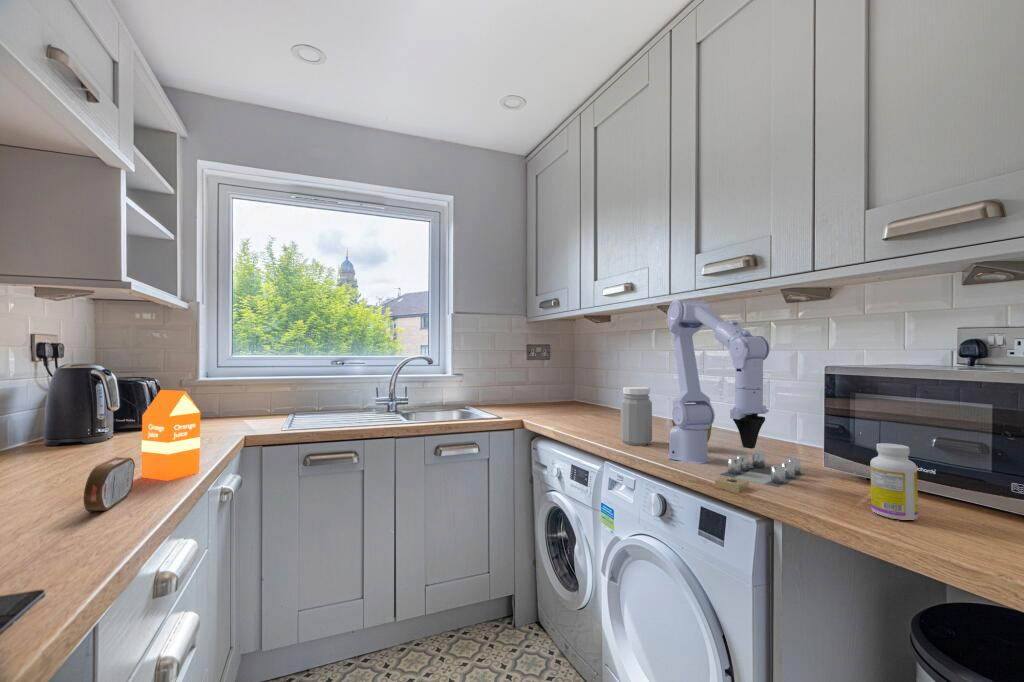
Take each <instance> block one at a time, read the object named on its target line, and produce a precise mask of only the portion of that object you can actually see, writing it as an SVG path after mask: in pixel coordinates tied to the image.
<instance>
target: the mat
mask: <svg viewBox="0 0 1024 682" xmlns="http://www.w3.org/2000/svg"><path fill="white" fill-rule="evenodd" d="M750 464H751V465H753V463H750ZM805 475H806V473H803V472H801V474H800V475H795V479H785V484H787V483H790V482H792V481H794V480H796V479H798V478H800V477H802V476H805ZM719 476H723V477H725V476H727V477H732V478H736V479H741V480H746V481H749V482H751V483H757V484H761V485H764V486H771V487H775V488H780V487H781V486H784V485H785V484H776V483H772V482H771V466H766V465H765V468H755V467H754V469H748V471H747V472H742V471H741V474H740V475H733V474H729V473H728V471H726V472H721V473H719Z"/></svg>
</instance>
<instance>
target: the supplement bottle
mask: <svg viewBox="0 0 1024 682" xmlns="http://www.w3.org/2000/svg"><path fill="white" fill-rule="evenodd" d="M910 451H911V450H910V447H909V445H908V446H907V445H904V444H897V443H888V442H886V443H883V442H881V443H879V442H878V443H876V452H877V456H875V457H873V458H871V460H870V465H869V466H870V504H871V505H870V506H871V511H872V513H874V512H875V513H877V514H880V515H883V516H887V517H893V518H898V519H915V518H917V517H919V495H918V494H919V493H918V491H919V490H918V466H917V465H916V463H915V462H913V461H912V460H910V459H909V456H910V454H911V452H910ZM875 513H874V514H875ZM877 514H876V515H877ZM917 519H918V518H917Z"/></svg>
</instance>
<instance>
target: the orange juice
mask: <svg viewBox="0 0 1024 682" xmlns="http://www.w3.org/2000/svg"><path fill="white" fill-rule="evenodd" d="M141 420H142V423H141V424H142V425H141V426H142V430H141V432H142V433H141V470H140V471H141V473H140V474H141V475H140V476H141V477H140V478H144V479H154V480H158V481H159V480H161V481H172V480H175V479H179V478H184V477H186V476H190V475H191V476H192V475H194V474H195V475H196V474H198V473H200V453H201V411H200V409H199V408H198V407H197V406H196V404H195V403H194V401H193V400H192V398H191V397H190V396H189V394H188V393H187V391H186V390H168V389H167V390H165V389H160V390H159V391H158V393H157V394H156V396H155V397H154V399H153V400H152V402H151V403H150V405H149V406H148V407H147V409H145V411H144V413H143V414H142V419H141Z"/></svg>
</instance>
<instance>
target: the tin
mask: <svg viewBox="0 0 1024 682" xmlns="http://www.w3.org/2000/svg"><path fill="white" fill-rule="evenodd" d="M135 466H136V465H135V461H134V459H133V458H131V457H118V456H115V457H113V458H110V459H108V460H107V461H103V462H102V463H100V464H97V465H96V466H95V467H93V469H92V470H91V472H89V475H88V477H87V479H86V483H85V486H84V491H83V506H84V509H85V511H86V512H89V513H92V512H104V511H108V510H110V509H112V508H113V507H115V506H116V505H117V504H118V503H120V502H121V501H123V500H124V499H126V498H127V497H128V496H129V494H130V493H131V490H132V488H133V485H134V476H135V475H134V474H135V468H136V467H135Z"/></svg>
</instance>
